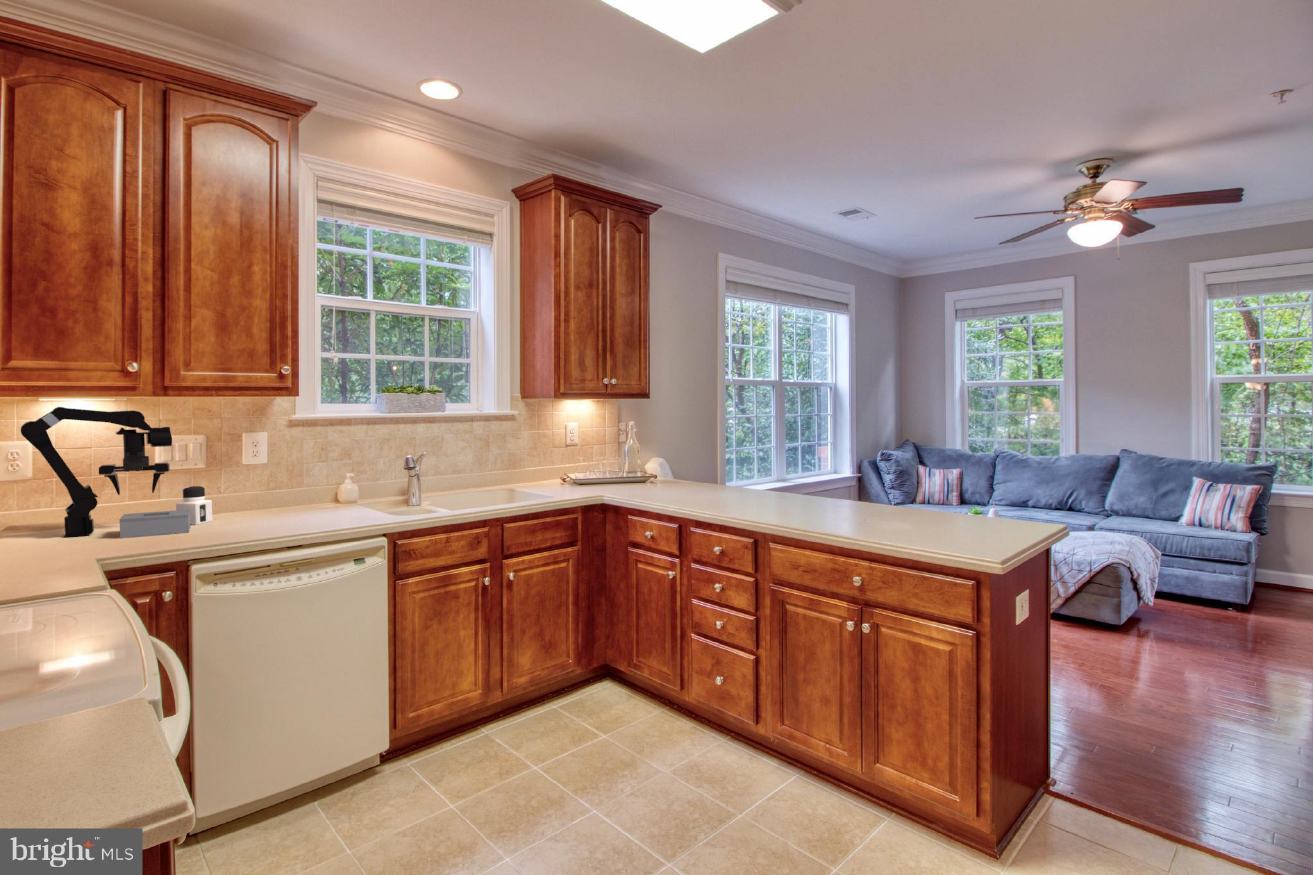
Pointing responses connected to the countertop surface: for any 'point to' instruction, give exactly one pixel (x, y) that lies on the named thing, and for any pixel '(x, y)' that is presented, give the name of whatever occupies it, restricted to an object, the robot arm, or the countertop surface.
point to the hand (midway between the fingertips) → (136, 493)
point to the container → (196, 505)
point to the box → (154, 523)
